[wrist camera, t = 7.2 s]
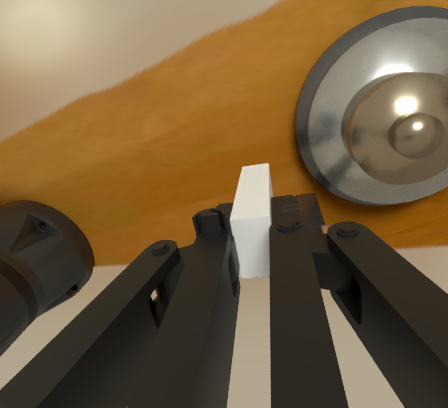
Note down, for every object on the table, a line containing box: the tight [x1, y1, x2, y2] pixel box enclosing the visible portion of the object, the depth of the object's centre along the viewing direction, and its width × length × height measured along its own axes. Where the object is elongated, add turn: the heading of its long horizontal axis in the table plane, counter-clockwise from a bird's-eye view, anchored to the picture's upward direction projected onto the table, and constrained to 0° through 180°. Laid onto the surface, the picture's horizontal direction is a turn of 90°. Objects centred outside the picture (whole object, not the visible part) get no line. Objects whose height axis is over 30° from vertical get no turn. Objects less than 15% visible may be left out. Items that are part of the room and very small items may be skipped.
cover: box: [341, 72, 448, 185], centre depth 22 cm, size 8×8×6 cm
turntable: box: [307, 18, 448, 204], centre depth 24 cm, size 20×15×4 cm
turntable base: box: [295, 6, 448, 205], centre depth 27 cm, size 17×17×2 cm
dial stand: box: [296, 193, 333, 233], centre depth 28 cm, size 3×4×11 cm
